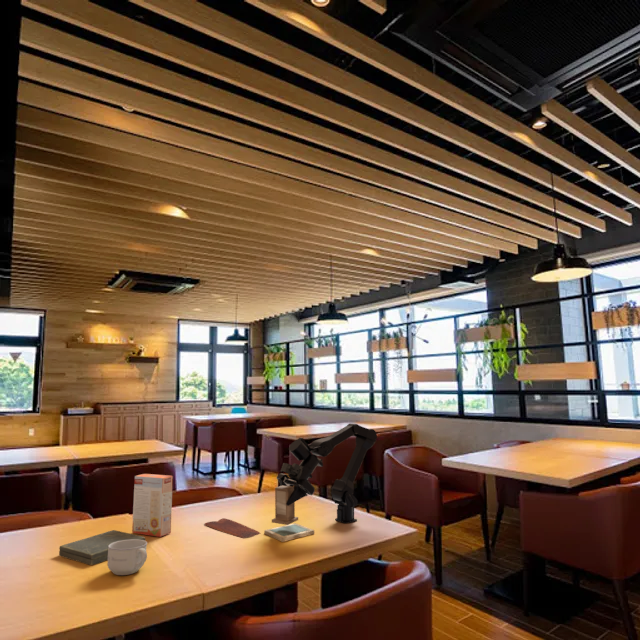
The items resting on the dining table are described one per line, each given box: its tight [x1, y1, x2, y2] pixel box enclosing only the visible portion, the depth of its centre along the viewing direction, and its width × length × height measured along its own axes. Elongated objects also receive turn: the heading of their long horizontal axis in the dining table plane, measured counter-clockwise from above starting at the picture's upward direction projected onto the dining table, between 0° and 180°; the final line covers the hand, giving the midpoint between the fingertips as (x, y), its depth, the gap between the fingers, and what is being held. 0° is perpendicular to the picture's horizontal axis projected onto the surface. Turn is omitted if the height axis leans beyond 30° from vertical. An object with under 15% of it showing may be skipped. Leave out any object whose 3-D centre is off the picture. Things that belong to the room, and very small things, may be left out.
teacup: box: [107, 539, 148, 576], centre depth 137 cm, size 14×11×8 cm
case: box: [58, 529, 146, 566], centre depth 156 cm, size 18×4×20 cm
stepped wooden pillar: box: [271, 485, 299, 526], centre depth 172 cm, size 7×7×12 cm
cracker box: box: [131, 473, 174, 538], centre depth 176 cm, size 14×6×21 cm, turn 65°
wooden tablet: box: [204, 518, 261, 539], centre depth 179 cm, size 27×10×2 cm, turn 45°
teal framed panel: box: [263, 522, 315, 543], centre depth 172 cm, size 14×12×1 cm
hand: (281, 503), depth 171 cm, fingers closed on stepped wooden pillar, 7 cm apart
